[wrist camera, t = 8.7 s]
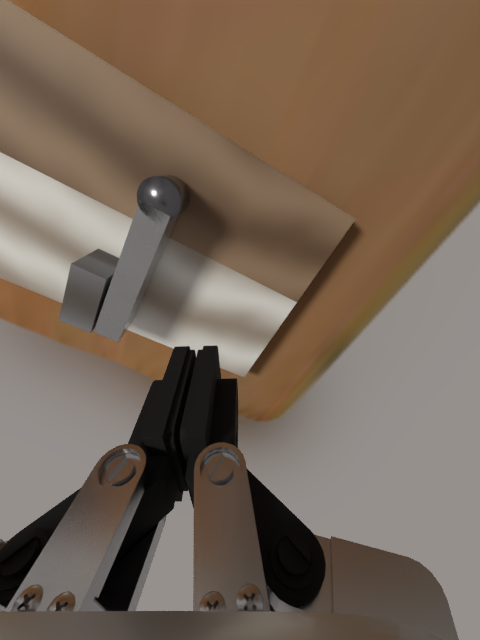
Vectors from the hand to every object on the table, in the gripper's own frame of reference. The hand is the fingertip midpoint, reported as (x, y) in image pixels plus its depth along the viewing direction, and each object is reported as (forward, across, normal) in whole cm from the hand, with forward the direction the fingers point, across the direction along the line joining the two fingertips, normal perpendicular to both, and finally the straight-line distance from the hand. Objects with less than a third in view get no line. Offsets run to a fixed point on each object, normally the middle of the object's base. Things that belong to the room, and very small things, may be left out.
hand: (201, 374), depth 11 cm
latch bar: (+13, +6, -1) cm, 14 cm away
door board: (+15, +5, -2) cm, 16 cm away
